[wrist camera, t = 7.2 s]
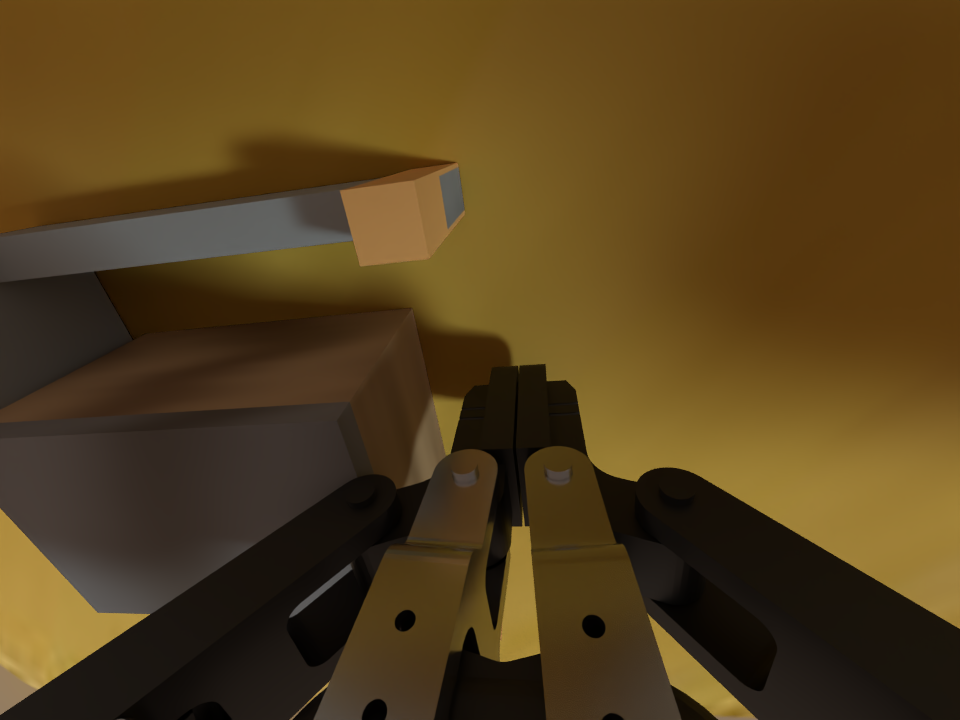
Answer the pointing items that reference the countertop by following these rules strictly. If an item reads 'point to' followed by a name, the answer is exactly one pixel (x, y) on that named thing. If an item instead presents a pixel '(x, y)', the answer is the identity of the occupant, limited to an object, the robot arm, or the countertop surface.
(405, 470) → the grey block
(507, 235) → the countertop surface
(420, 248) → the bay
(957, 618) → the countertop surface
